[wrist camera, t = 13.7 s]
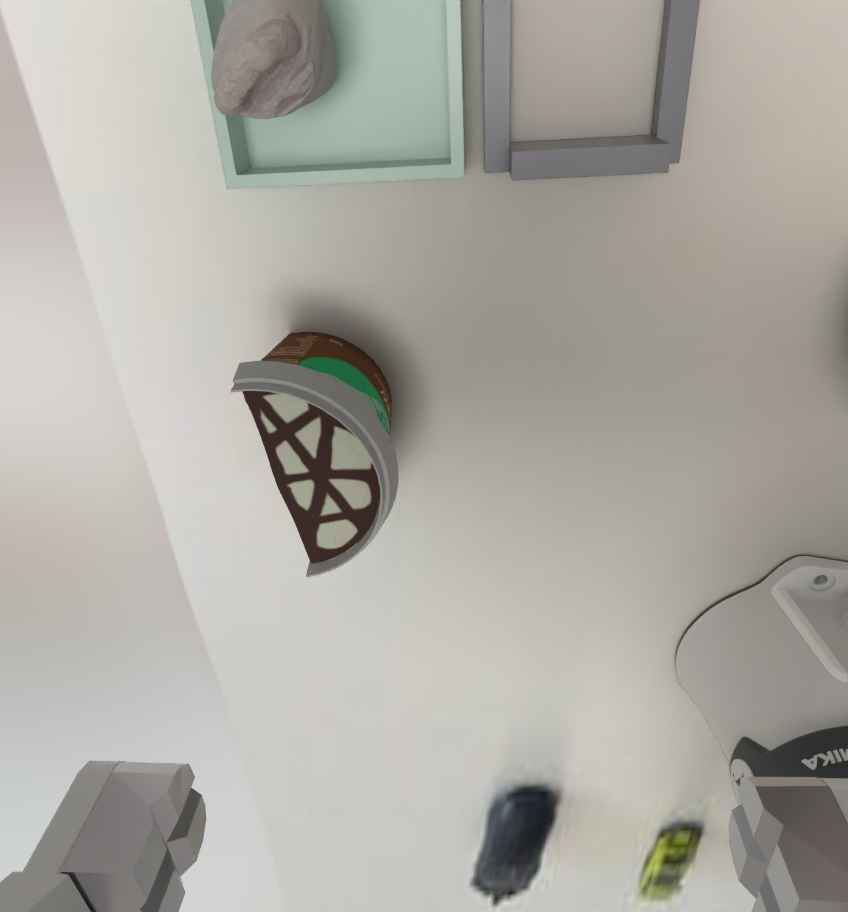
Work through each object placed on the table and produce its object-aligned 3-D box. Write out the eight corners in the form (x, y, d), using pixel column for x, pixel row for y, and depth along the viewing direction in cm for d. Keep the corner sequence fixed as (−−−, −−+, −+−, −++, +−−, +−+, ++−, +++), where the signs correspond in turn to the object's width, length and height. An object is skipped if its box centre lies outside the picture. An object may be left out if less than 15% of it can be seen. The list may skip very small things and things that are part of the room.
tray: (459, -95, 29) (457, -111, 26) (465, 168, 34) (464, 177, 32) (200, -74, 30) (173, -87, 27) (245, 179, 35) (226, 188, 33)
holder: (706, -119, 28) (739, -145, 25) (672, 159, 34) (695, 171, 30) (482, -100, 29) (483, -122, 25) (484, 169, 34) (485, 181, 31)
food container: (430, 470, 44) (419, 570, 35) (341, 484, 45) (309, 585, 36) (382, 288, 38) (355, 355, 29) (281, 309, 39) (226, 380, 30)
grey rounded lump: (291, -38, 30) (217, -77, 21) (364, -4, 30) (321, -29, 22) (259, 99, 33) (183, 113, 24) (327, 128, 33) (276, 151, 25)
